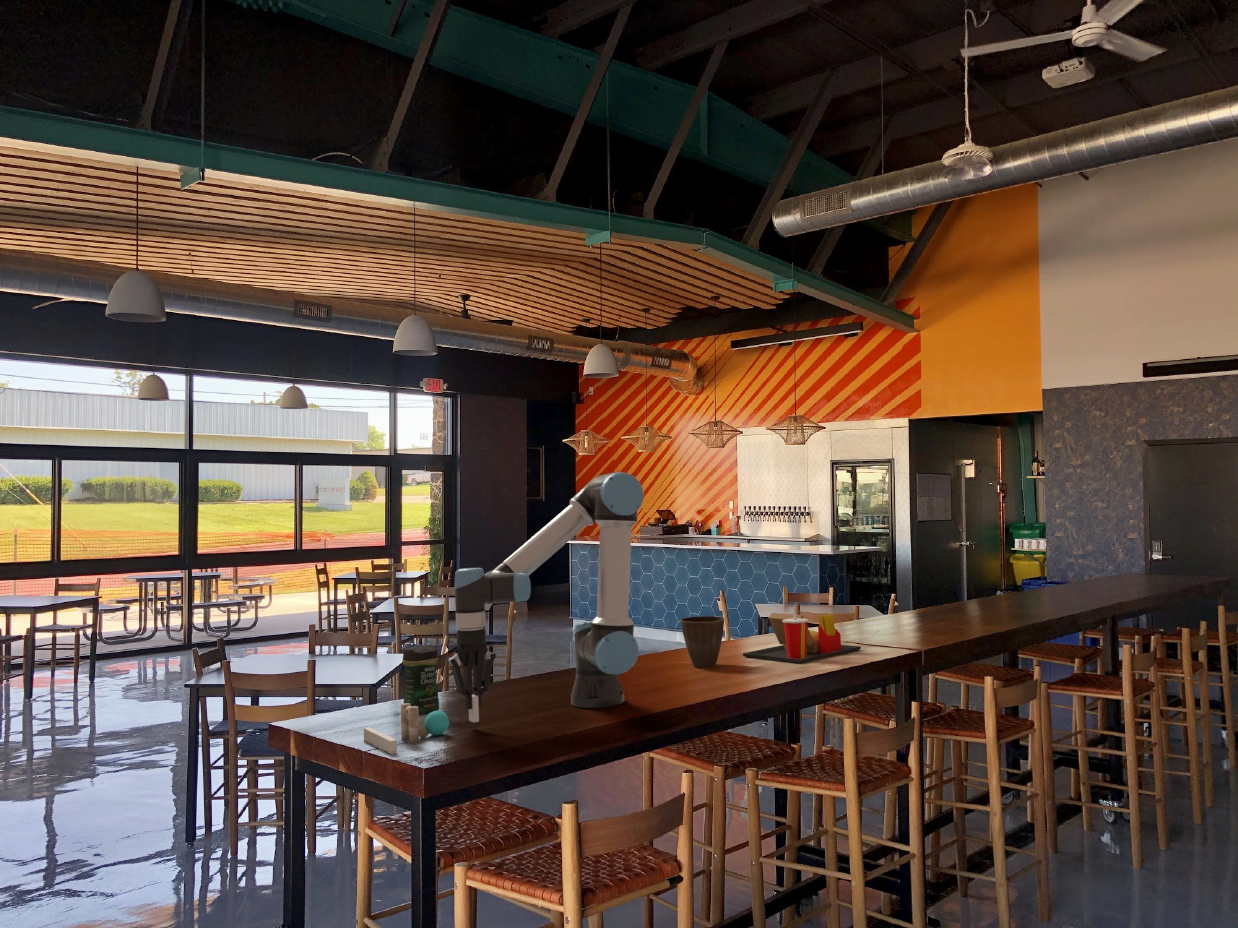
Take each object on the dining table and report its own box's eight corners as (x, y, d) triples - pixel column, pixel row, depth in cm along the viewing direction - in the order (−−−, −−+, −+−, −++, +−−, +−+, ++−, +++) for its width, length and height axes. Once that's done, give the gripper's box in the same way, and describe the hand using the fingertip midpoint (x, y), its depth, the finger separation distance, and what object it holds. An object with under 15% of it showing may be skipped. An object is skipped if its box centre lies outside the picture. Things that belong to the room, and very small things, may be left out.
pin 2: (417, 740, 227) (415, 705, 227) (420, 742, 225) (419, 707, 225) (407, 742, 225) (406, 707, 226) (411, 744, 223) (410, 708, 224)
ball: (416, 727, 232) (435, 738, 234) (425, 729, 227) (444, 741, 229) (429, 705, 234) (447, 716, 236) (437, 707, 229) (457, 718, 231)
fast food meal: (860, 651, 333) (858, 600, 334) (800, 665, 310) (797, 610, 311) (804, 645, 353) (801, 597, 353) (743, 658, 330) (740, 606, 330)
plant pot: (728, 668, 307) (726, 620, 308) (683, 670, 308) (681, 622, 308) (724, 661, 322) (722, 615, 323) (681, 663, 323) (679, 617, 323)
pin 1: (409, 737, 231) (408, 702, 231) (412, 738, 229) (411, 704, 229) (399, 738, 229) (399, 704, 230) (403, 740, 227) (402, 705, 228)
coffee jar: (414, 717, 253) (412, 649, 254) (399, 713, 259) (397, 646, 260) (444, 711, 260) (442, 644, 261) (429, 707, 266) (427, 642, 266)
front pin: (426, 731, 231) (408, 704, 228) (430, 732, 229) (412, 706, 227) (419, 737, 229) (401, 711, 227) (423, 739, 228) (404, 712, 225)
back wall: (369, 739, 230) (369, 726, 230) (397, 752, 216) (396, 739, 216) (363, 740, 229) (363, 727, 230) (390, 754, 215) (390, 741, 215)
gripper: (487, 624, 245) (490, 714, 244) (441, 629, 237) (444, 722, 236) (500, 626, 239) (503, 719, 238) (453, 632, 231) (456, 727, 230)
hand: (474, 720), depth 237 cm, fingers closed
